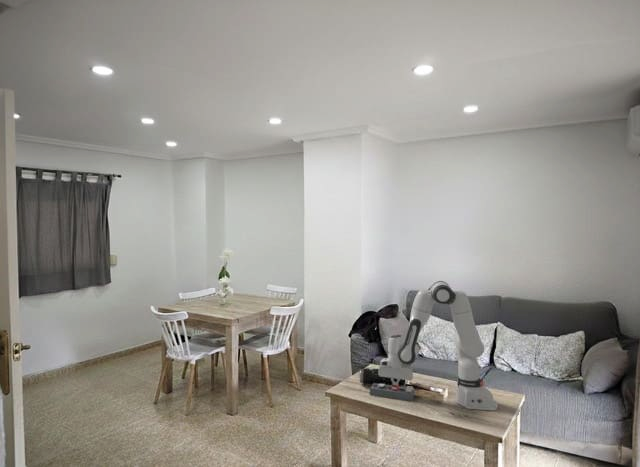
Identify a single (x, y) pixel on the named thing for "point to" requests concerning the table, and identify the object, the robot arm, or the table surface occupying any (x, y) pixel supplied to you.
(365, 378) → the muzzle brake
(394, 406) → the table surface
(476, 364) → the robot arm
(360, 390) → the table surface
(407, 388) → the rocker
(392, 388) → the rocker middle
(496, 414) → the table surface
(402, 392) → the strip housing
